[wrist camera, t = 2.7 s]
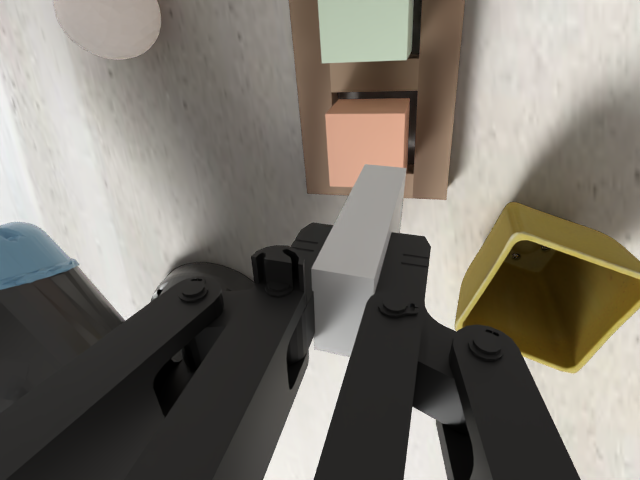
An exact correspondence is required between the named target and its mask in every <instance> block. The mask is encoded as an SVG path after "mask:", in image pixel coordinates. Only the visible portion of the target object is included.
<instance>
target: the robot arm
mask: <svg viewBox="0 0 640 480" xmlns="http://www.w3.org/2000/svg"><path fill="white" fill-rule="evenodd" d="M405 177H406V168H400V167H390V166H379V165H369V164H365V165H364V167H363V169H362V171H361V173H360V175H359V177H358V179H357V181H356V182H355V184H354V186H353V188H352V190H351V192H350V194H349V196H348V198H347V200H346V202H345V204H344V206H343V208H342V210H341V212H340V214H339V216H338V218H337V220H336V222H335V223H334V225H326V224H319V223H311V224H310V225H308V226H306V227H305V228H303V229H302V230H301V231H300V233H299V234H298V236H297V237H296V239H295V241H294V242H293V244H292V245H291V247H289V246H277V245H276V246H270V247H266V248H263V249H261V250H259V251H257V252H256V253H255V254H253V255H252V256H251V260H252V267H253V275H254V282H253V281H251V280H250V279H249V278H247V277H246V276H244V275H242V274H240V273H238V272H236V271H234V270H232V269H230V268H227V267H224V266H221V265H217V264H211V263H190V264H186V265H183V266H180V267H178V268H176V269H175V270H173V271H172V272H171V273H170V274H169V275H168V276H167V277H166V278H165V279H164V280H163V281H162V282H161V283H160V285H159V286H158V287H157V289H156V290H155V292H154V294H153V296H152V299H151V302H150V303H149V304H148V305H146V306H145V307H144V308H142V309H141V310H140V311H138V312H137V313H136V314H134V315H133V316H131V317H130V318H129V319H127V320H126V321H125V320H124V319H123V318H122V317H121V315H120V314H119V313H118V312H117V311H116V310H115V308H114V307H113V306H112V305H111V304H110V303H109V302H108V300H107V299H106V298H105V297H104V296H103V295H102V294H101V292H100V291H99V290H98V289H97V288H96V287H95V286H94V284H93V283H92V282H91V281H90V280H89V279H88V277H87V276H86V275H85V274H84V273H83V272H82V271H81V269H80V268H79V267H78V265H79V263H78V262H77V261H76V260H75V259H71V258H70V257H69V256H68V255H67V254H66V253H65V252H64V251H63V250H62V249H61V248H60V247H59V246H58V245H57V244H56V243H55V242H54V241H53V240H52V239H51V238H50V237H49V236H48V235H47V234H46V233H45V232H44V231H43V230H42V229H41V228H39V227H37V226H35V225H33V224H30V223H25V222H12V223H7V224H4V225H0V480H263V478H264V476H265V473H266V471H267V468H268V465H269V463H270V460H271V458H272V455H273V453H274V450H275V448H276V445H277V442H278V440H279V437H280V435H281V432H282V430H283V427H284V425H285V422H286V420H287V417H288V414H289V412H290V409H291V407H292V404H293V402H294V399H295V397H296V394H297V391H298V389H299V386H300V384H301V381H302V379H303V376H304V374H305V371H306V369H307V366H308V360H309V351H308V349H309V346H310V344H311V341H312V339H313V337H314V349H315V350H320V351H325V352H330V353H334V354H339V355H344V356H348V357H350V360H349V363H348V366H347V370H346V373H345V376H344V380H343V383H342V386H341V390H340V393H339V396H338V400H337V403H336V407H335V410H334V413H333V417H332V420H331V423H330V427H329V430H328V433H327V437H326V440H325V443H324V447H323V450H322V454H321V457H320V460H319V464H318V467H317V470H316V474H315V477H314V480H403V479H404V471H405V463H406V454H407V446H408V438H409V430H410V421H411V413H412V406H413V407H414V408H416V409H418V410H420V411H422V412H423V413H425V414H427V415H429V416H431V417H432V418H434V419H436V426H437V430H438V435H439V440H440V445H441V450H442V455H443V459H444V464H445V469H446V474H447V479H448V480H581V479H580V477H579V475H578V473H577V471H576V469H575V467H574V465H573V462H572V460H571V458H570V456H569V454H568V452H567V450H566V448H565V445H564V443H563V441H562V439H561V437H560V435H559V433H558V430H557V428H556V426H555V424H554V422H553V420H552V418H551V416H550V413H549V411H548V409H547V407H546V405H545V403H544V401H543V399H542V396H541V394H540V392H539V390H538V388H537V386H536V384H535V381H534V379H533V377H532V375H531V373H530V371H529V369H528V367H527V364H526V362H525V360H524V358H523V356H522V354H521V352H520V350H519V348H518V346H517V345H516V344H515V342H514V341H513V339H511V338H510V337H509V336H507V335H506V334H505V333H503V332H502V331H500V330H497V329H495V328H492V327H490V326H484V325H469V326H465V327H463V328H461V329H459V330H458V331H457V332H456V331H454V330H452V329H449V328H447V327H445V326H443V325H441V324H440V323H438V322H437V321H436V320H434V319H433V318H432V317H431V316H430V315H429V313H428V312H427V310H426V308H425V301H424V300H425V292H426V283H427V275H428V266H429V258H430V250H431V246H430V245H429V243H428V241H427V239H426V238H425V237H424V236H417V235H409V234H402V233H400V225H401V216H402V206H403V197H404V187H405Z"/></svg>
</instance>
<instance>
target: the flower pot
mask: <svg viewBox="0 0 640 480" xmlns="http://www.w3.org/2000/svg"><path fill="white" fill-rule="evenodd" d="M543 245H544V246H547V247H549V249H547V250H542V246H543ZM515 253H517V254H519V255H520V256H519V257H518V258H513V257H512V255H513V254H515ZM639 308H640V261H639V260H638V259H637V258H636V257H634V256H633V255H632V254H631V253H630V252H629V251H628V250H627V249H626V248H625V247H623V246H622V245H621V244H620V243H618V242H617V241H616V240H614V239H613V238H611V237H609V236H607V235H605V234H603V233H601V232H599V231H596V230H594V229H591V228H588V227H585V226H582V225H579V224H576V223H573V222H570V221H567V220H565V219H562V218H559V217H556V216H553V215H550V214H547V213H545V212H542V211H539V210H536V209H533V208H531V207H528V206H525V205H522V204H520V203H516V202H510V203H508V204H507V205H506V206H505V208H504V209H503V211H502V213H501V215H500V216H499V218H498V220H497V222H496V223H495V225H494V227H493V228H492V230H491V232H490V234H489V235H488V237H487V239H486V240H485V242H484V244H483V245H482V247H481V249H480V250H479V252H478V254H477V255H476V257H475V258H474V260H473V261H472V263H471V265H470V266H469V268H468V270H467V272H466V274H465V276H464V278H463V281H462V284H461V289H460V294H459V300H458V307H457V313H456V320H455V330H456V331H458V330H459V329H461V328H463V327H465V326H469V325H484V326H490V327H492V328H495V329H497V330H500V331H502V332H503V333H505V334H506V335H507V336H509V337H510V338H511V339H513V341H514V342H515V344H516V345H517V346H518V348H519V350H520V352H521V354H522V356H523V357H526V358H528V359H531V360H533V361H536V362H538V363H541V364H544V365H546V366H549V367H552V368H554V369H557V370H560V371H563V372H568V373H576V372H578V371H579V370H580V369H581V368H582V367H583V366H584V365H585V364H586V363H587V362H588V361H589V360H590V359H591V358H592V357H593V355H594V354H595V353H596V352H597V351H598V350H599V349H600V348H601V347H602V346H603V344H604V343H605V342H606V341H607V340H608V339H609V338H610V337H611V336H612V335H613V334H614V333H615V332H616V331H617V330H618V328H619V327H620V326H621V325H623V324H624V323H625V322H626V321H627V320H628V319H629V318H630V317H631V316H632V315H633V314H634V313H635V312H636V311H637V310H638V309H639Z"/></svg>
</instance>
